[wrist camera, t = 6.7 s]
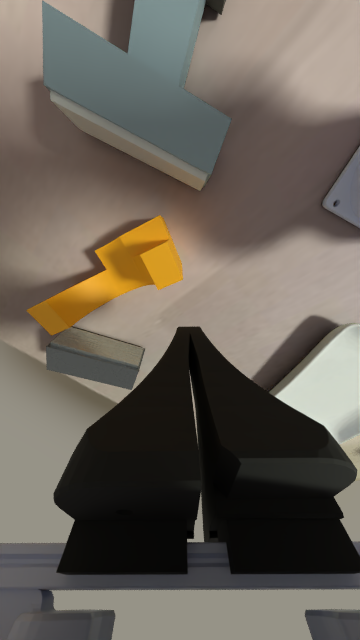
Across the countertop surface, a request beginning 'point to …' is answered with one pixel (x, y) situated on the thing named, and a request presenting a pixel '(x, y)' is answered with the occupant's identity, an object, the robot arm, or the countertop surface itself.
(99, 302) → the pipe clamp
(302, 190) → the countertop surface
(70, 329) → the block
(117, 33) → the countertop surface
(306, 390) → the salad plate
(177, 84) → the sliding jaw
